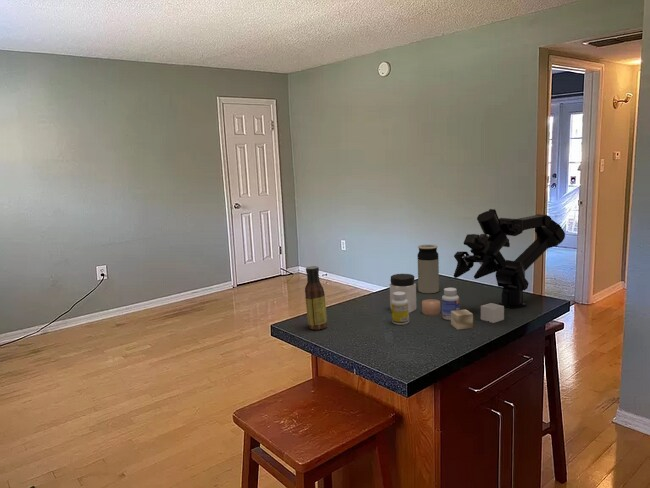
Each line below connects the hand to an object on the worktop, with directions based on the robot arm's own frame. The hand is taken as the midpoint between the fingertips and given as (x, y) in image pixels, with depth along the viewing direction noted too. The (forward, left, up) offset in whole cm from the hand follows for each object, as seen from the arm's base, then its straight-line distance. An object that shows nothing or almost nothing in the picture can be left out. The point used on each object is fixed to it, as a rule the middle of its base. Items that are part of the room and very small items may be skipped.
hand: (464, 277), depth 157 cm
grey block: (-8, +4, -14) cm, 17 cm away
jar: (+10, -20, -14) cm, 27 cm away
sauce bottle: (+43, -19, -14) cm, 49 cm away
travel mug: (-11, -35, -14) cm, 39 cm away
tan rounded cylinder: (+4, -12, -14) cm, 19 cm away
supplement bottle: (+18, -9, -14) cm, 25 cm away
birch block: (+4, +4, -14) cm, 15 cm away
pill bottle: (+2, -4, -14) cm, 15 cm away
